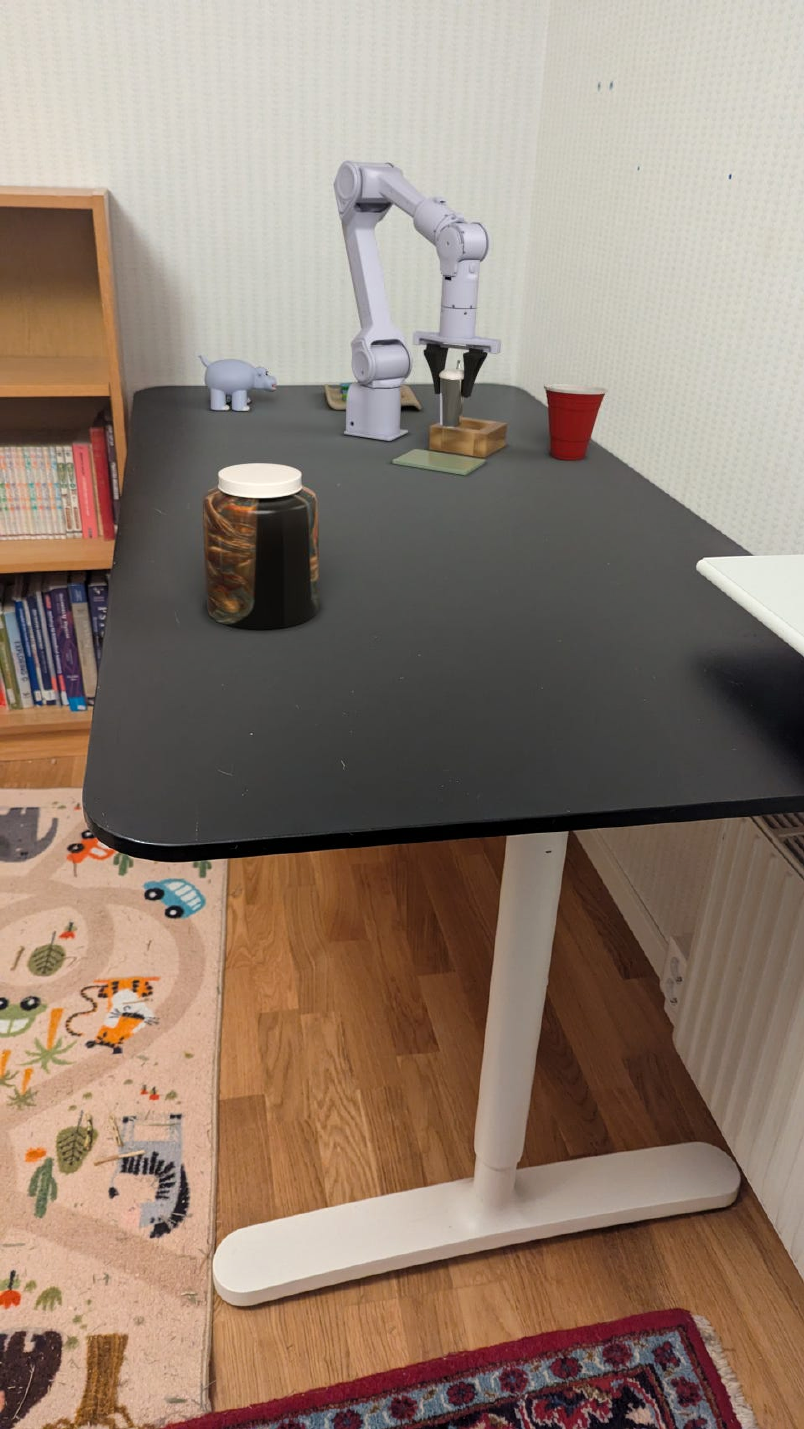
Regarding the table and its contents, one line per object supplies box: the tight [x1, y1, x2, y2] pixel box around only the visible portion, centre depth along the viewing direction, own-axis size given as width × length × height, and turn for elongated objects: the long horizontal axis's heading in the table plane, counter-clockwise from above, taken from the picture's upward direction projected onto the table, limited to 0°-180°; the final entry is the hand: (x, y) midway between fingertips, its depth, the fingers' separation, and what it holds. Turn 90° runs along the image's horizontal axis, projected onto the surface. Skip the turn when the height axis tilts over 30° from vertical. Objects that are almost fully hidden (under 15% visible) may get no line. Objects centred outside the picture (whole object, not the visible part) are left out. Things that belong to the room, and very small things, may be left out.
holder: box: [428, 416, 508, 459], centre depth 178 cm, size 10×10×4 cm
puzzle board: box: [323, 381, 422, 411], centre depth 209 cm, size 18×19×4 cm
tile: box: [392, 448, 486, 476], centre depth 169 cm, size 13×9×1 cm
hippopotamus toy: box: [197, 354, 278, 412], centre depth 199 cm, size 11×15×10 cm
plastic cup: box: [543, 383, 609, 461], centre depth 174 cm, size 11×11×12 cm
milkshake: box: [439, 359, 465, 428], centre depth 167 cm, size 5×5×10 cm
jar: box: [202, 462, 320, 630], centre depth 107 cm, size 12×12×15 cm
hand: (453, 395), depth 167 cm, fingers closed on milkshake, 4 cm apart
